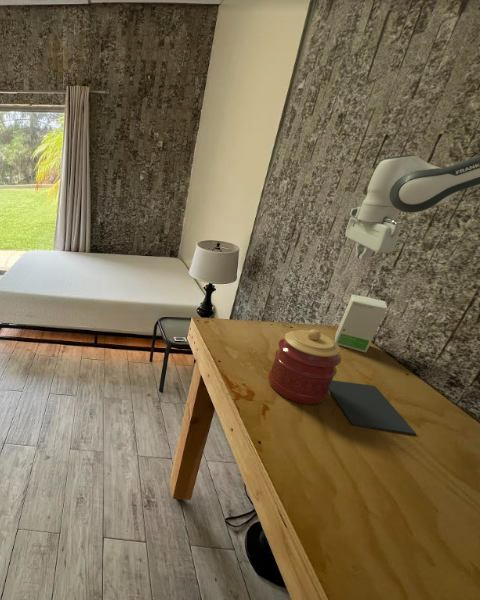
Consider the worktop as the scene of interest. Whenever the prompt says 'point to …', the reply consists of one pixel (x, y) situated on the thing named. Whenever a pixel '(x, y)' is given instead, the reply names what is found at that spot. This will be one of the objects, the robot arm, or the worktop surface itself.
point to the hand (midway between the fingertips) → (360, 258)
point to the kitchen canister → (304, 366)
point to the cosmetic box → (360, 322)
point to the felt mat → (368, 407)
